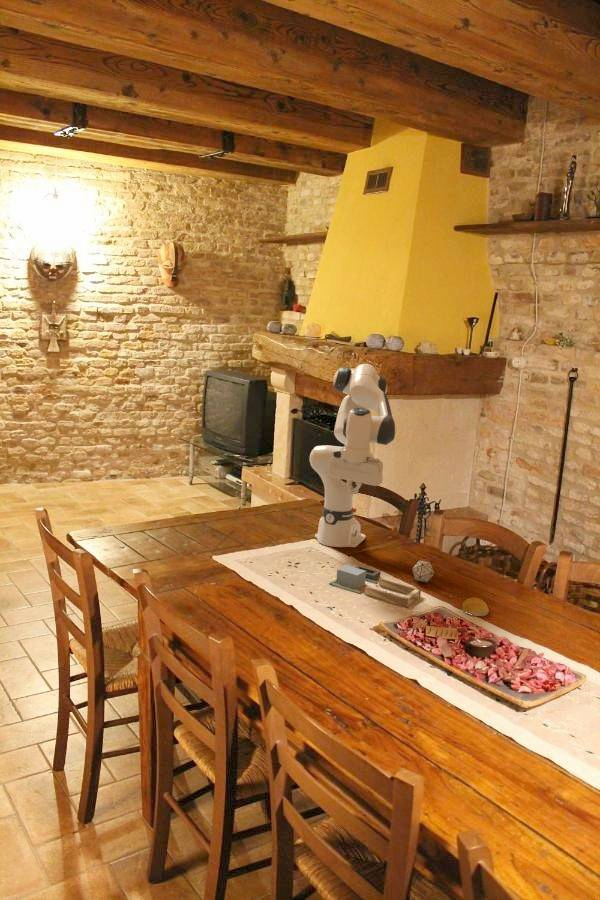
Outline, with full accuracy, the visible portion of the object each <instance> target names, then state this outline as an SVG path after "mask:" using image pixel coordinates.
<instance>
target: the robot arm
mask: <svg viewBox="0 0 600 900" xmlns="http://www.w3.org/2000/svg"><path fill="white" fill-rule="evenodd" d="M332 382H333V383H332V384H333V388H334V390H335V391H336V392H338V393H343V394H345V395H346V396H345V397H343V399H342V401H341V403H340V406H339V408H338V412H337V415H336V421H335V424H334V429H333V434H334V437H335V438H336V440H337V441H339V442H340V443H341V444H343V445H344V446H339V445H338V446H337V445H328V444H326V445H316V446H314V447H313V449H311V452H310V453H309V463H310V466H311V468H312V469H313V470H314V472H316V473H317V474H318V475H319V477H320V479H321V481H322V484H323V486H324V487H323V489H324V505H323V507H322V516H321V517H320V518H319V523H318V528H317V529H318V530H317V533H315V534H314V537H315V538H316V540H317V542H318V543H320V544H321V545H324V546H326V547H327V546H328V547H333V548H334V547H335V548H356V547H357V546H359V545H360V544H361V543H362V542H363V541H364V540H365V539H366V538H367V537H366V535H365V534H363V533H361V527H362V526H361V524H360V522H359V521H358V520H357V519H356V518H355V517H354V513H357V507H354V506H353V499H354V498H353V497H354V495H358V494H359V489H360V488H361V487H362V485H363V484H364V485H369V486H372V487H377V486H380V485H381V484H382V483H383V469H384V463H383V462H382V461H381V460H380V459H379V458H375V457H374V455H373V453H372V452H371V445H370V444H378V445H384V446H387V445H389V444H390V443H392V442H393V441H394V440H395V437H396V432H397V426H396V423H395V420H394V418H393V415H392V410H391V406H390V402H389V398H388V395H387V392H388V381H387V379H386V378H385V377H383V376H381V375H378V372H377V369H376V368H375V367H374V366H373V365H372V364H370V363H361V364H359V365H357V366H356V367H355V368H350V367H348V366H341V367H339V368H338V369H337V371H335V373H334V375H333V379H332ZM371 410H373V411H376V412H377V413H378V414H379V416H378V415H372V412H371ZM343 480H345V481H346V482H345V481H343ZM353 483H355V485H356V486H355V487H353Z"/></svg>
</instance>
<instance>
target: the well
mask: <svg viewBox="0 0 600 900" xmlns="http://www.w3.org/2000/svg"><path fill="white" fill-rule="evenodd" d="M354 567H355V568H358V569H362V570H365V571H366V579H370V580H373V581H376V580H377V579H380V577H381V571H380V570H377V569H372V568H369V567H367V566H362V565H360V564H359V565H356V566H354Z"/></svg>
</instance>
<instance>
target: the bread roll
mask: <svg viewBox="0 0 600 900" xmlns="http://www.w3.org/2000/svg"><path fill="white" fill-rule="evenodd" d="M461 606H462V611H463V613H464V612H467V613H470V614H472V615H475V616H474V617H476V616H481V617H485V616H487V615H488V614H489V612H490V611H489V607H488V605H487V603H486V602H485V601H484V600H483V599H481V598H477V597H469V598H467V599H465V600H464V601H463V603H462V605H461ZM472 615H471V616H472Z"/></svg>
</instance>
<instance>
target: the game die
mask: <svg viewBox="0 0 600 900" xmlns="http://www.w3.org/2000/svg"><path fill="white" fill-rule="evenodd" d="M417 560H418V561H417V562H416V563H415V564H414V566H413V567H410V568H409V569H410V570H411V571H412V574H413V577H414V580H413V582H417V581H418V582H422V583H425V584H427V585H429V581H430V580H431V579H432V577H433V576H434V575H435V576H436V575H437V573H436V572H435V571H434V567H433V565H432V564H433V561H434V560H432V561H424V560H420V558H419V557H417Z"/></svg>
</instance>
